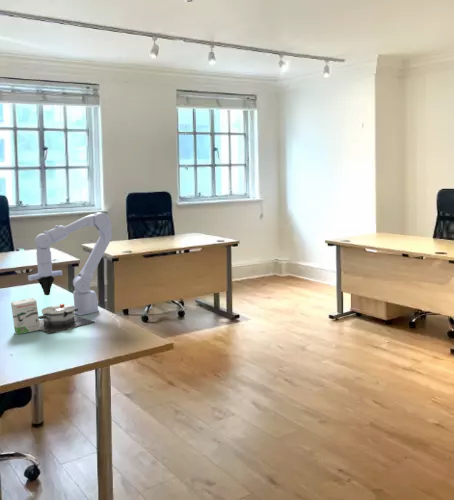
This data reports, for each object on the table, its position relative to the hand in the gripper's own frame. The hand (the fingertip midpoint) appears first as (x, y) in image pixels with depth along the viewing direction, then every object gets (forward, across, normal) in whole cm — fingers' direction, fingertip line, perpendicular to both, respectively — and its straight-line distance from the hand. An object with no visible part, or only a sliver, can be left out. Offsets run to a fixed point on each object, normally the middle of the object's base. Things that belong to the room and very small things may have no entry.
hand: (47, 294), depth 242 cm
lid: (+4, +3, +15) cm, 16 cm away
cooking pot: (+9, +3, +14) cm, 17 cm away
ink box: (+9, +16, +14) cm, 23 cm away
